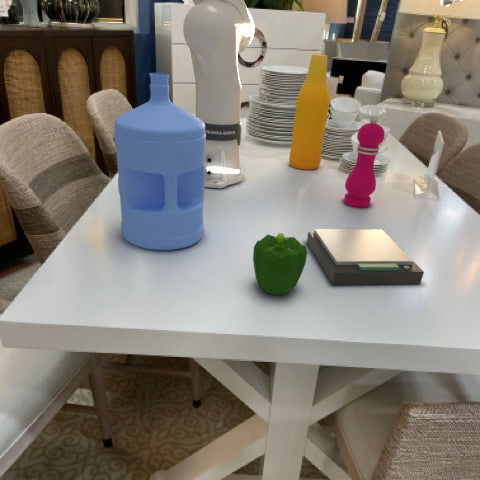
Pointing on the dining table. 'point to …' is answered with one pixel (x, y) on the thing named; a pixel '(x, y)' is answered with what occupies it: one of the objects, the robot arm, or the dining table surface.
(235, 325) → the dining table surface
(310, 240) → the scale
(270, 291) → the bell pepper
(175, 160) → the water jug
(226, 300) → the dining table surface
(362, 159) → the pepper mill
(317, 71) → the beer bottle
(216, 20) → the robot arm
